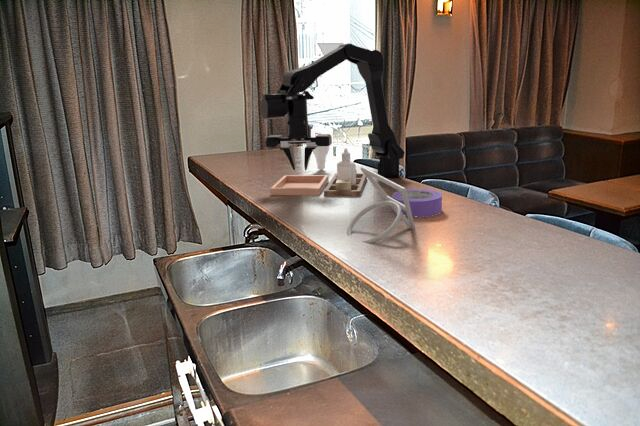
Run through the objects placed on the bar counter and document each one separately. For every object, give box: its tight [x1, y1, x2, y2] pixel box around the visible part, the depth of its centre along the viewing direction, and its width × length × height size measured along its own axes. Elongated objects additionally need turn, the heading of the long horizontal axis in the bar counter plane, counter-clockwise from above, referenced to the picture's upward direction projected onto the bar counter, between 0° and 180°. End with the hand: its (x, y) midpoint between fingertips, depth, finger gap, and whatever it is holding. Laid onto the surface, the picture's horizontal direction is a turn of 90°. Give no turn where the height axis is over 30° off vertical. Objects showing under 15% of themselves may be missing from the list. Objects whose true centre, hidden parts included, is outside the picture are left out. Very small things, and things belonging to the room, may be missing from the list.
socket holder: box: [323, 172, 368, 197], centre depth 156 cm, size 10×24×2 cm, turn 171°
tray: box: [269, 174, 330, 196], centre depth 156 cm, size 14×18×2 cm
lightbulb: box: [312, 146, 330, 171], centre depth 182 cm, size 6×6×11 cm
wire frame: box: [346, 166, 416, 244], centre depth 109 cm, size 18×13×16 cm
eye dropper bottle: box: [336, 148, 357, 185], centre depth 154 cm, size 4×6×12 cm
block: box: [335, 180, 351, 190], centre depth 148 cm, size 4×4×4 cm
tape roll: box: [391, 188, 443, 218], centre depth 127 cm, size 12×12×5 cm
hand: (300, 169), depth 155 cm, fingers open, 3 cm apart
